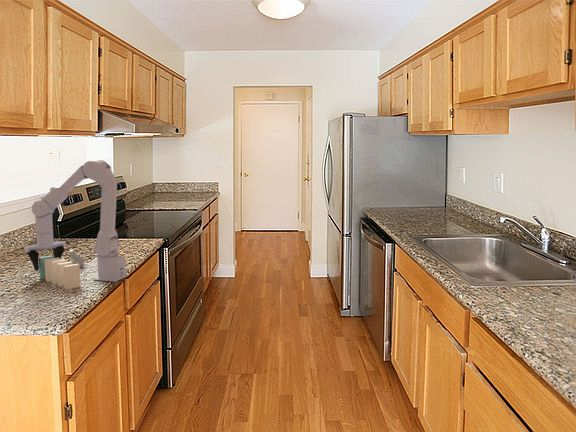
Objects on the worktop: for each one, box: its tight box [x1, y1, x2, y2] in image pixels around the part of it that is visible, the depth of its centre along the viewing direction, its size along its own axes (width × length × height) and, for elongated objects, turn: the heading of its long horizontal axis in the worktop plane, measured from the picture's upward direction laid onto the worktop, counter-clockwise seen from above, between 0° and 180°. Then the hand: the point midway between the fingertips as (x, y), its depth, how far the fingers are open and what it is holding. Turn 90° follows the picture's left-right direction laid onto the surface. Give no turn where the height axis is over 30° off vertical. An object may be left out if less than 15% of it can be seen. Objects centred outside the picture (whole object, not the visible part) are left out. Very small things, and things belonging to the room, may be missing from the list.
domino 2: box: [51, 259, 67, 285], centre depth 194 cm, size 2×5×8 cm, turn 138°
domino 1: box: [45, 258, 61, 283], centre depth 197 cm, size 2×5×8 cm, turn 138°
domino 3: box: [57, 261, 74, 287], centre depth 191 cm, size 2×5×8 cm, turn 138°
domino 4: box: [63, 263, 82, 290], centre depth 187 cm, size 2×5×8 cm, turn 138°
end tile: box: [38, 255, 54, 280], centre depth 201 cm, size 2×5×8 cm, turn 138°
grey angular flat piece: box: [68, 249, 84, 268], centre depth 217 cm, size 7×2×8 cm, turn 169°
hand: (46, 268), depth 201 cm, fingers open, 7 cm apart
